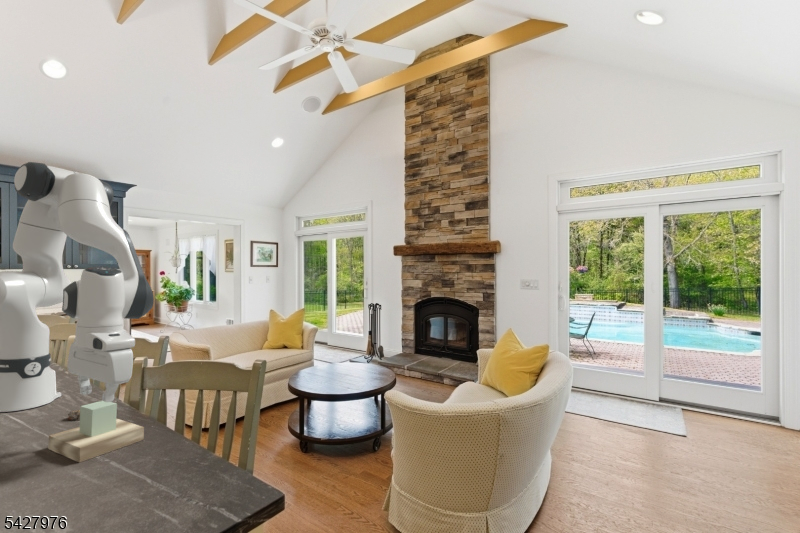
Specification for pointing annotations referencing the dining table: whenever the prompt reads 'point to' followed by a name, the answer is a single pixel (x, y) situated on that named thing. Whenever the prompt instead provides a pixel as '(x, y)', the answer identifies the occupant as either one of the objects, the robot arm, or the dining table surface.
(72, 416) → the mineral rock
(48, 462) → the dining table surface
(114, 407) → the sage block
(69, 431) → the birch plinth
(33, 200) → the robot arm
